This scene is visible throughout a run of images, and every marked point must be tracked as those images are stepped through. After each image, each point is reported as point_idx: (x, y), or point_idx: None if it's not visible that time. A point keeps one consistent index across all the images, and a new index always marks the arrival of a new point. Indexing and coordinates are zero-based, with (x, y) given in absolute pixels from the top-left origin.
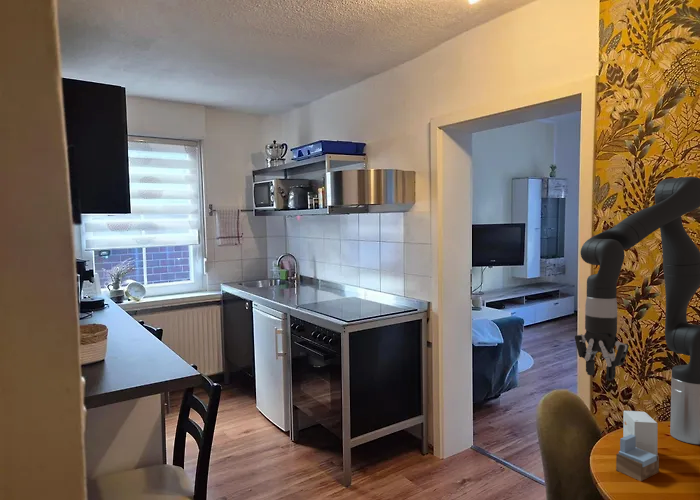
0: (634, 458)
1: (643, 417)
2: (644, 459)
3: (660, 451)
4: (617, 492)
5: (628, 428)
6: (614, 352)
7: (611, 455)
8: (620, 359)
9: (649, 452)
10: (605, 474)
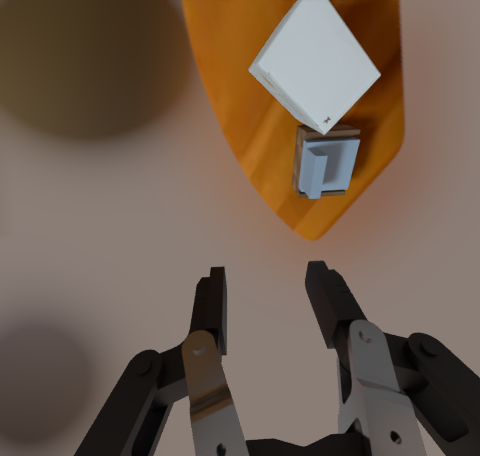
0: (330, 189)
1: (334, 71)
2: (346, 179)
3: None
4: (320, 234)
5: (283, 98)
6: (416, 427)
7: (257, 139)
8: (457, 416)
9: (341, 131)
10: (287, 209)
